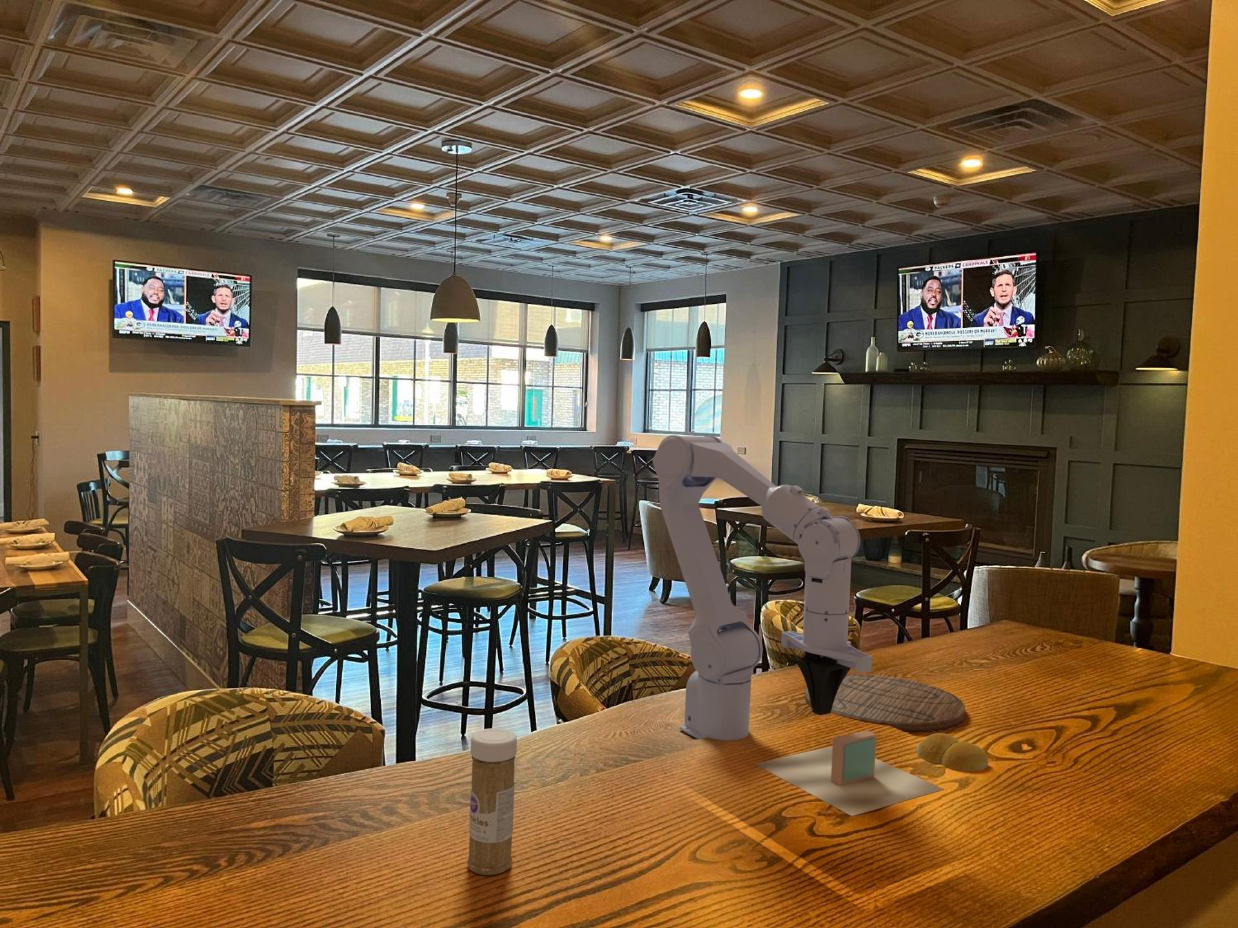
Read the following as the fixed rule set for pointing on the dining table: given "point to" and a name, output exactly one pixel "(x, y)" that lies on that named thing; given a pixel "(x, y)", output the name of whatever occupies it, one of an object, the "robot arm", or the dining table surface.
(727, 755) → the dining table surface
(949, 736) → the bread roll
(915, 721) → the trivet
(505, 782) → the sprinkles bottle
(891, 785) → the board
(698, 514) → the robot arm
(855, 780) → the block
